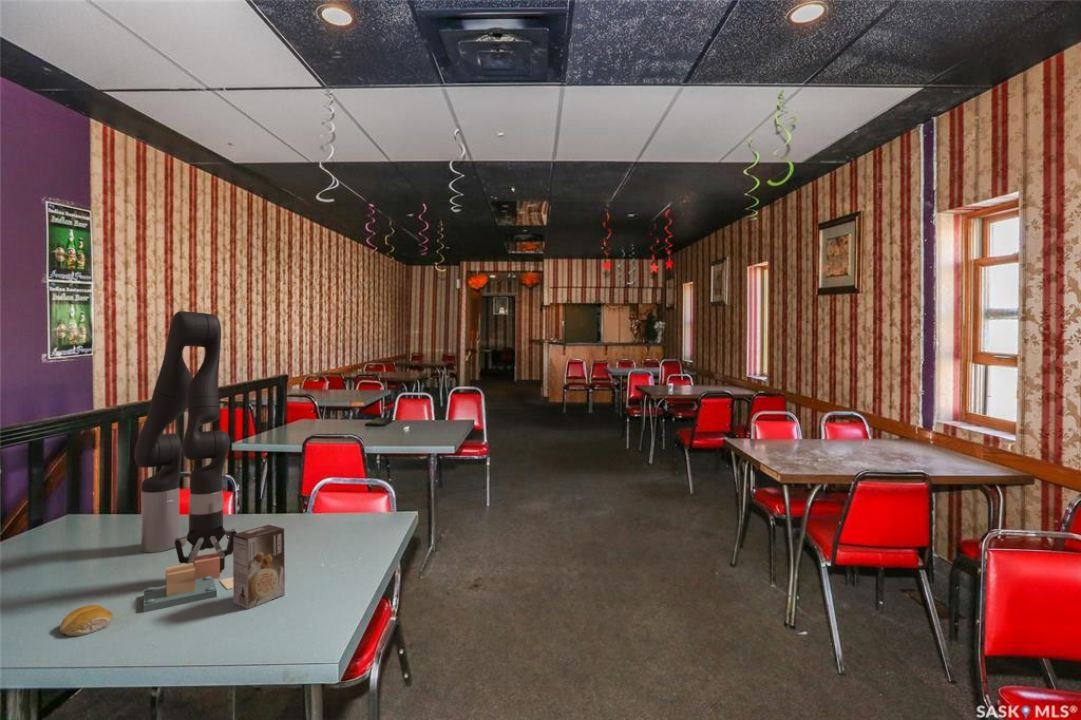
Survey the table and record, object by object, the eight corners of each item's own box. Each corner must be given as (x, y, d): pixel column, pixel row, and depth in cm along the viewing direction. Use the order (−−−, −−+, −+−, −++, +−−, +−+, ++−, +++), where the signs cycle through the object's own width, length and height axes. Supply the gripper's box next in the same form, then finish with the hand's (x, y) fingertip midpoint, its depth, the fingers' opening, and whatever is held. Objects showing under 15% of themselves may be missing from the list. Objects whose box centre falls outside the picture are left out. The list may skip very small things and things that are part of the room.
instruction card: (219, 581, 140) (219, 579, 140) (262, 570, 147) (262, 569, 147) (227, 589, 135) (227, 588, 135) (271, 578, 141) (271, 577, 141)
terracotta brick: (192, 575, 143) (192, 556, 143) (217, 570, 146) (217, 552, 146) (194, 582, 139) (194, 562, 138) (219, 577, 142) (219, 558, 142)
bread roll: (100, 614, 122) (100, 596, 122) (118, 625, 117) (118, 606, 117) (52, 629, 115) (52, 610, 115) (69, 642, 110) (69, 622, 110)
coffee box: (269, 589, 135) (270, 523, 135) (285, 595, 132) (285, 528, 132) (232, 603, 128) (232, 533, 127) (247, 610, 124) (248, 538, 124)
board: (143, 595, 131) (143, 587, 131) (212, 582, 139) (212, 574, 139) (143, 612, 123) (143, 603, 123) (216, 596, 131) (216, 588, 131)
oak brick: (165, 588, 131) (165, 567, 131) (193, 583, 135) (193, 562, 135) (166, 597, 127) (166, 575, 127) (194, 591, 130) (195, 569, 130)
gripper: (236, 501, 149) (235, 564, 150) (172, 509, 141) (171, 576, 141) (239, 508, 143) (239, 573, 143) (173, 517, 135) (173, 586, 135)
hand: (206, 574), depth 142 cm, fingers closed on terracotta brick, 5 cm apart
